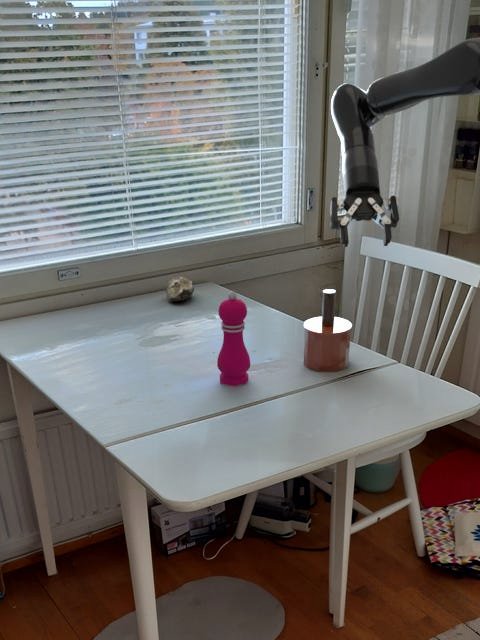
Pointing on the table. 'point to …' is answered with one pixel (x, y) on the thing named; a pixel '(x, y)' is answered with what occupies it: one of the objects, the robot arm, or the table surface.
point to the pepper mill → (233, 342)
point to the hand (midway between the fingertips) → (366, 244)
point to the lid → (328, 318)
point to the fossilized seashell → (179, 289)
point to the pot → (326, 352)
